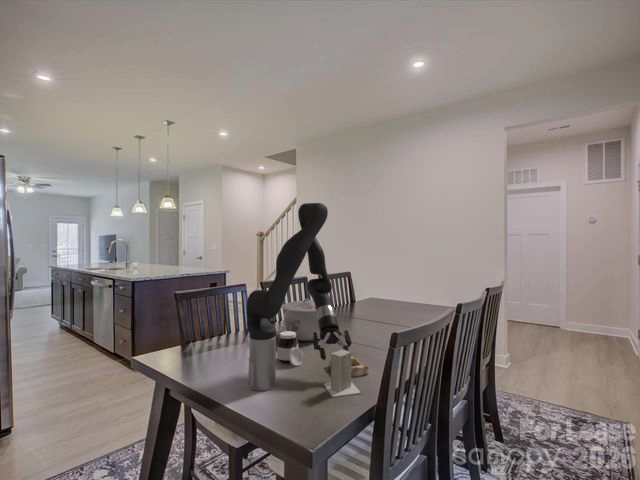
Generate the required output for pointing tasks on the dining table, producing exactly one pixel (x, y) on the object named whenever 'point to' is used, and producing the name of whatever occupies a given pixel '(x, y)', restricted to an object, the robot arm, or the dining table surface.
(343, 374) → the skincare box
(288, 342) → the spread jar
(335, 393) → the mat
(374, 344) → the dining table surface
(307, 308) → the chamber pot
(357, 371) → the holder collar
